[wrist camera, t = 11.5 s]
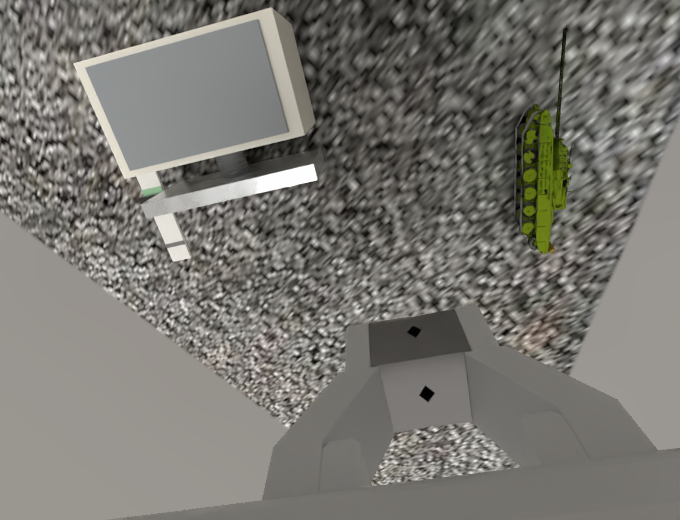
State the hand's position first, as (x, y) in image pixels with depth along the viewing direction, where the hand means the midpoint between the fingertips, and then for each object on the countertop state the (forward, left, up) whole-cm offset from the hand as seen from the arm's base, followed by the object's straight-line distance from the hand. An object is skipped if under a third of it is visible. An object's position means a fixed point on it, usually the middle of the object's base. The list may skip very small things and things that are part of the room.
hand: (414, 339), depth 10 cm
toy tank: (+3, +16, -31) cm, 35 cm away
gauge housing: (-2, -13, -31) cm, 34 cm away
